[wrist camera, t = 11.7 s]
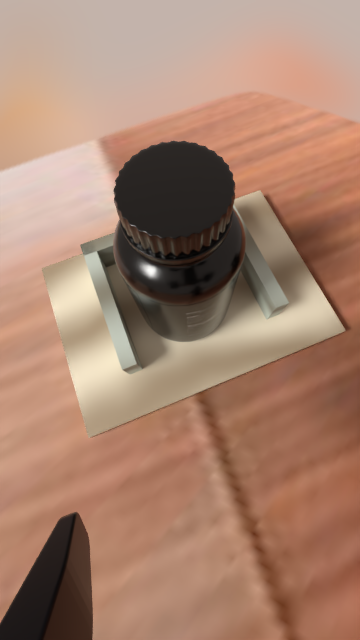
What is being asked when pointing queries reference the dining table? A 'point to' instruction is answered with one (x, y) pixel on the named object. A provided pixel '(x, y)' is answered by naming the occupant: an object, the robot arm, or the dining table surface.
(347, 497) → the dining table surface
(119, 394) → the cradle board
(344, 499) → the dining table surface
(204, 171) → the supplement bottle
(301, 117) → the dining table surface
